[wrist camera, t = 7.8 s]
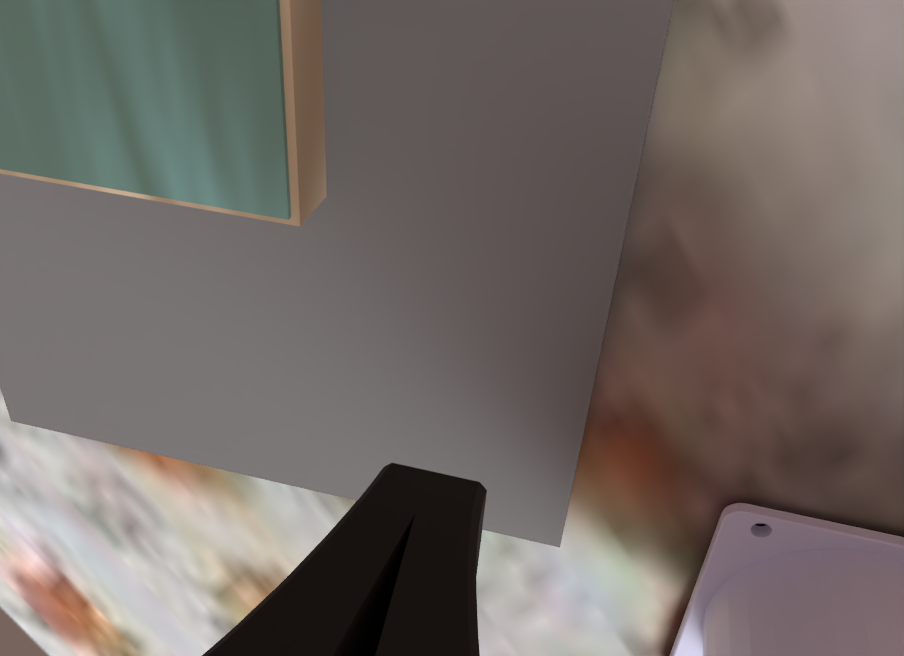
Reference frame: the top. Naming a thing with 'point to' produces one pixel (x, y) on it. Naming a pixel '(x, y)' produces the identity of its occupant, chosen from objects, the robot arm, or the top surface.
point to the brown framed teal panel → (168, 101)
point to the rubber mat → (365, 268)
